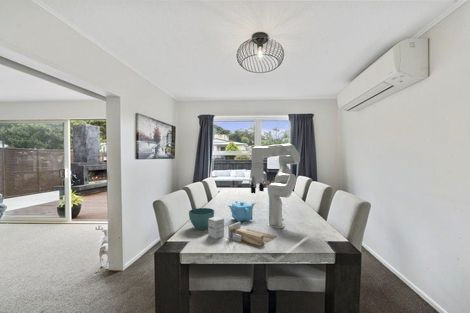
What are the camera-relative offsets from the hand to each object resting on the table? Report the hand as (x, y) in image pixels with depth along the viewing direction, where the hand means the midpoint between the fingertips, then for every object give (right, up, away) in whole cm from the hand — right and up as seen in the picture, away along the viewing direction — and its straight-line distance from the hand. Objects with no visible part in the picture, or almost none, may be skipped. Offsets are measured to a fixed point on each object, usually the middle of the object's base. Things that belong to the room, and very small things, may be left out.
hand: (257, 192), depth 146 cm
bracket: (-12, -27, -8) cm, 30 cm away
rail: (-6, -27, -13) cm, 30 cm away
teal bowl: (-39, -29, +16) cm, 51 cm away
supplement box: (-26, -29, -4) cm, 39 cm away
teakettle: (-9, -28, +35) cm, 46 cm away
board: (-4, -28, -7) cm, 29 cm away
